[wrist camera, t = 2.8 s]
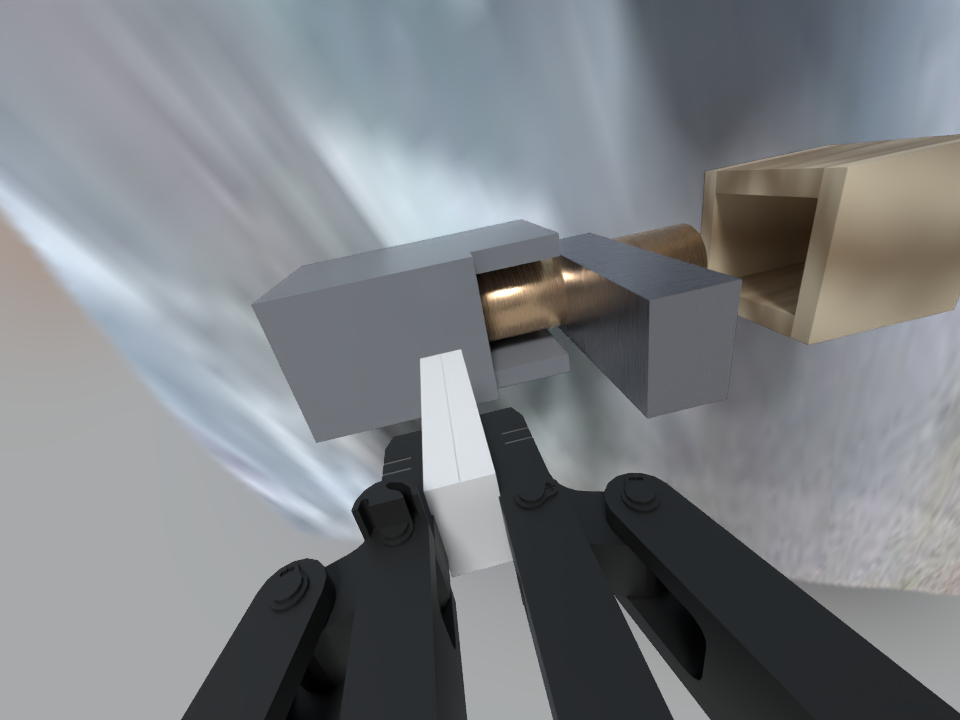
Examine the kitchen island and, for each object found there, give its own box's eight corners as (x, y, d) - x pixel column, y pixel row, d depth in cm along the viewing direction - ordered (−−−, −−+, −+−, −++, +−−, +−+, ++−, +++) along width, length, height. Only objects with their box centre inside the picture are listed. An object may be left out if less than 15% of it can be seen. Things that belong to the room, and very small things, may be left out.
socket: (705, 171, 23) (848, 167, 15) (827, 145, 23) (1025, 128, 16) (696, 297, 27) (808, 345, 19) (802, 273, 27) (953, 309, 19)
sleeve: (301, 266, 22) (251, 304, 15) (521, 219, 23) (566, 236, 16) (343, 372, 25) (316, 442, 18) (535, 327, 26) (577, 380, 19)
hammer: (357, 283, 21) (302, 380, 11) (663, 216, 22) (876, 248, 12) (380, 353, 23) (352, 491, 13) (661, 289, 24) (842, 370, 14)
